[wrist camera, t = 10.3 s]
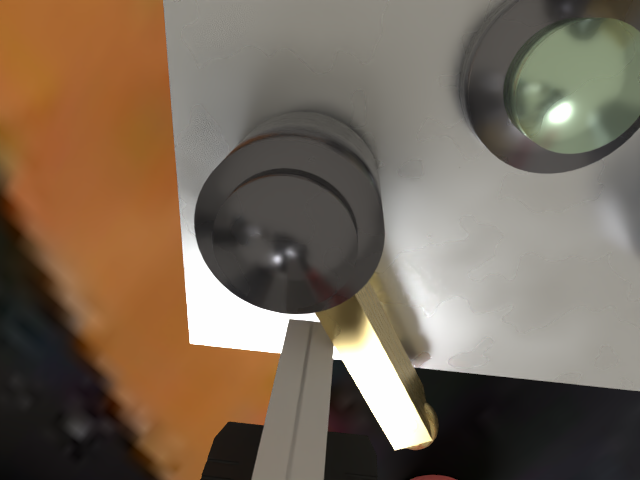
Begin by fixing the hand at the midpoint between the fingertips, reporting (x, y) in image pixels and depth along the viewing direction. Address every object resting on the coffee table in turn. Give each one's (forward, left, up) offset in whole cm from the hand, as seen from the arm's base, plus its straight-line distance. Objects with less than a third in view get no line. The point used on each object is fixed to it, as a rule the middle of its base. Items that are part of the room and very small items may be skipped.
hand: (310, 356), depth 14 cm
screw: (+1, +2, -2) cm, 3 cm away
